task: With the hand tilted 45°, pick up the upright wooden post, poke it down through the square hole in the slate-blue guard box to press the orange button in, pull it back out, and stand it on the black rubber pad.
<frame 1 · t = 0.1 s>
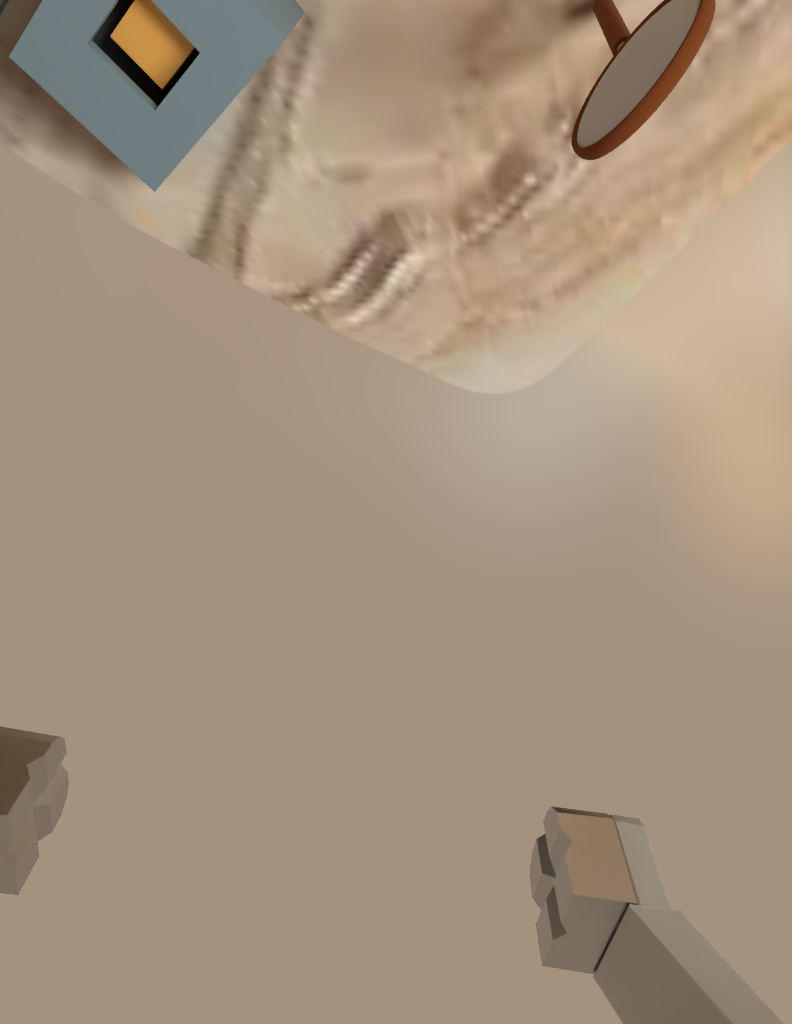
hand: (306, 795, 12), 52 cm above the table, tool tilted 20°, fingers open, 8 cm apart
button: (160, 34, 46), point 4 cm above the table, slide at 0.0 cm
guard box: (177, 20, 49), on the table
magnifying glass: (601, 2, 46), on the table
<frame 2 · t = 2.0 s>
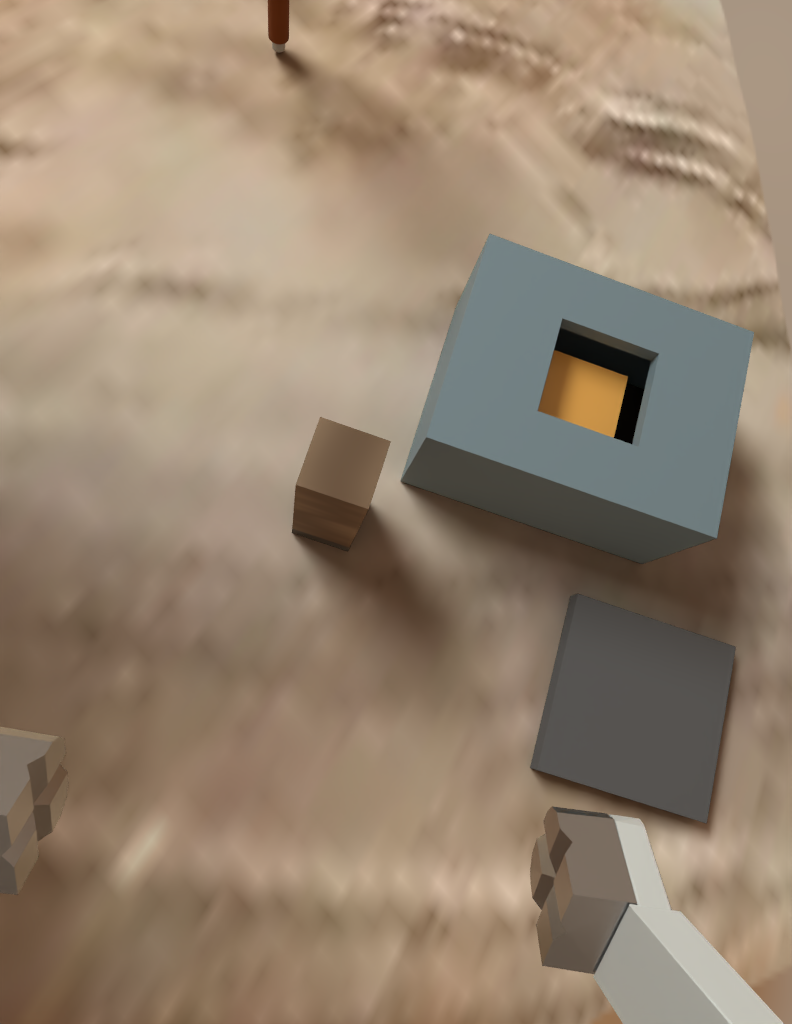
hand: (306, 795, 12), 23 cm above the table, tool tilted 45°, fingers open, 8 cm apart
button: (572, 408, 37), point 4 cm above the table, slide at 0.0 cm
pad: (631, 705, 37), on the table
guard box: (546, 432, 40), on the table
upright wooden post: (329, 515, 37), on the table
magnifying glass: (278, 53, 44), on the table
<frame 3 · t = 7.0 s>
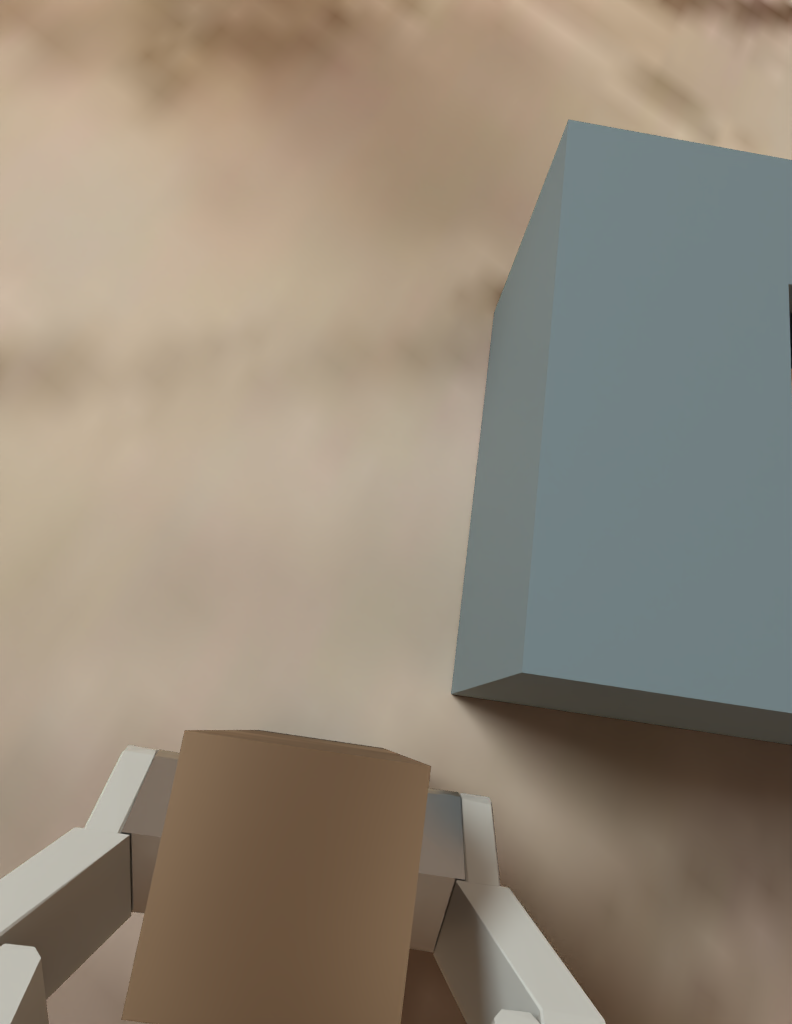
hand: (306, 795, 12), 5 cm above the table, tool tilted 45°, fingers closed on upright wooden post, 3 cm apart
guard box: (724, 527, 20), on the table
upright wooden post: (310, 805, 17), on the table, touching gripper
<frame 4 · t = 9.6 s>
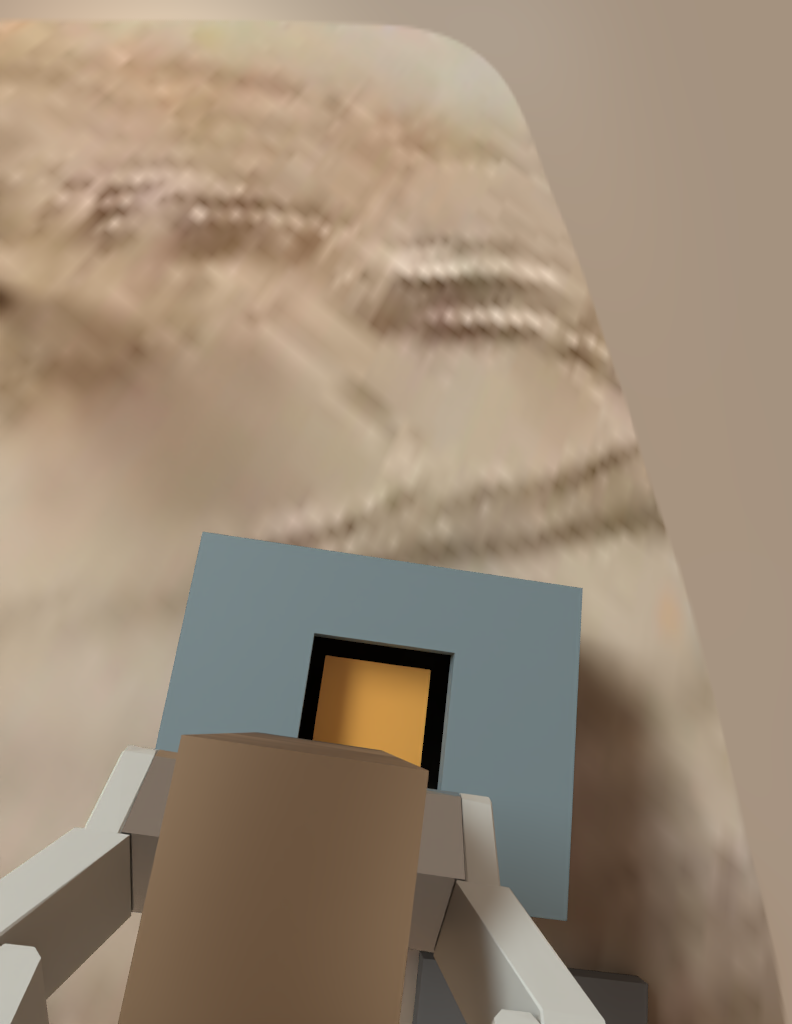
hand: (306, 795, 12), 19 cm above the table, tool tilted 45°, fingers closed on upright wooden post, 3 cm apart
button: (368, 718, 27), point 4 cm above the table, slide at 0.0 cm
guard box: (362, 720, 31), on the table
upright wooden post: (308, 807, 17), point 14 cm above the table, touching gripper
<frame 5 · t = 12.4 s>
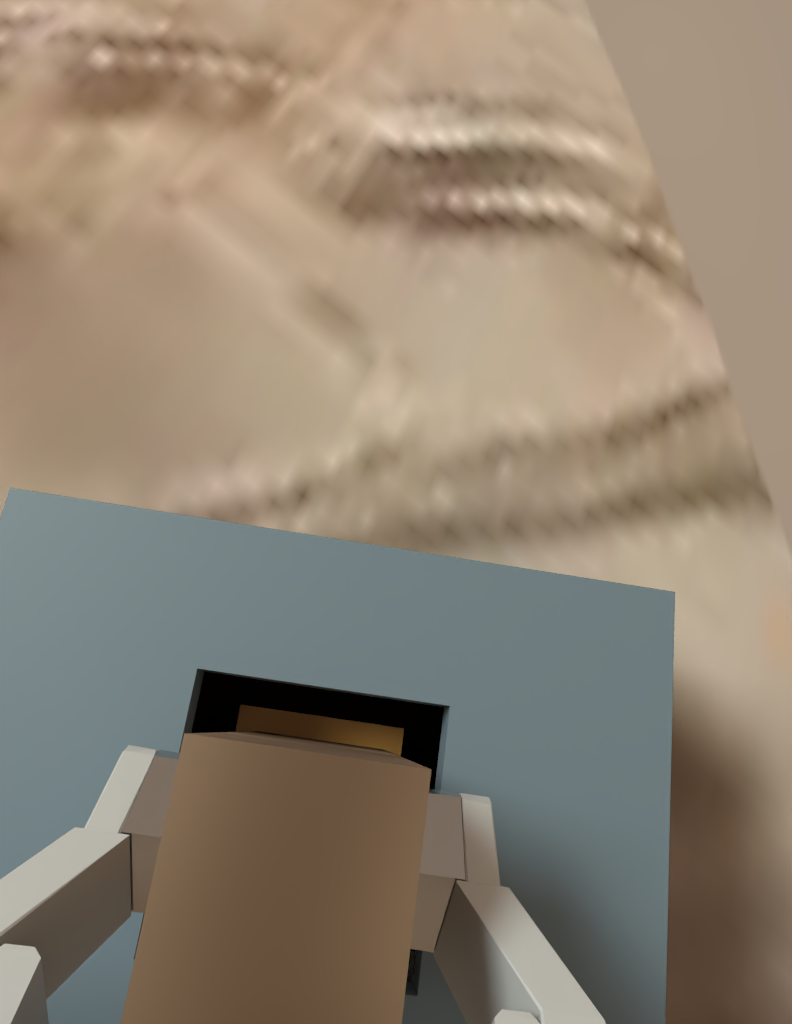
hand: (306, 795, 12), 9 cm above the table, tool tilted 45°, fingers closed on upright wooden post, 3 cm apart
button: (310, 799, 18), point 2 cm above the table, slide at 1.6 cm, touching upright wooden post
guard box: (312, 792, 20), on the table
upright wooden post: (310, 806, 17), point 3 cm above the table, touching button, gripper
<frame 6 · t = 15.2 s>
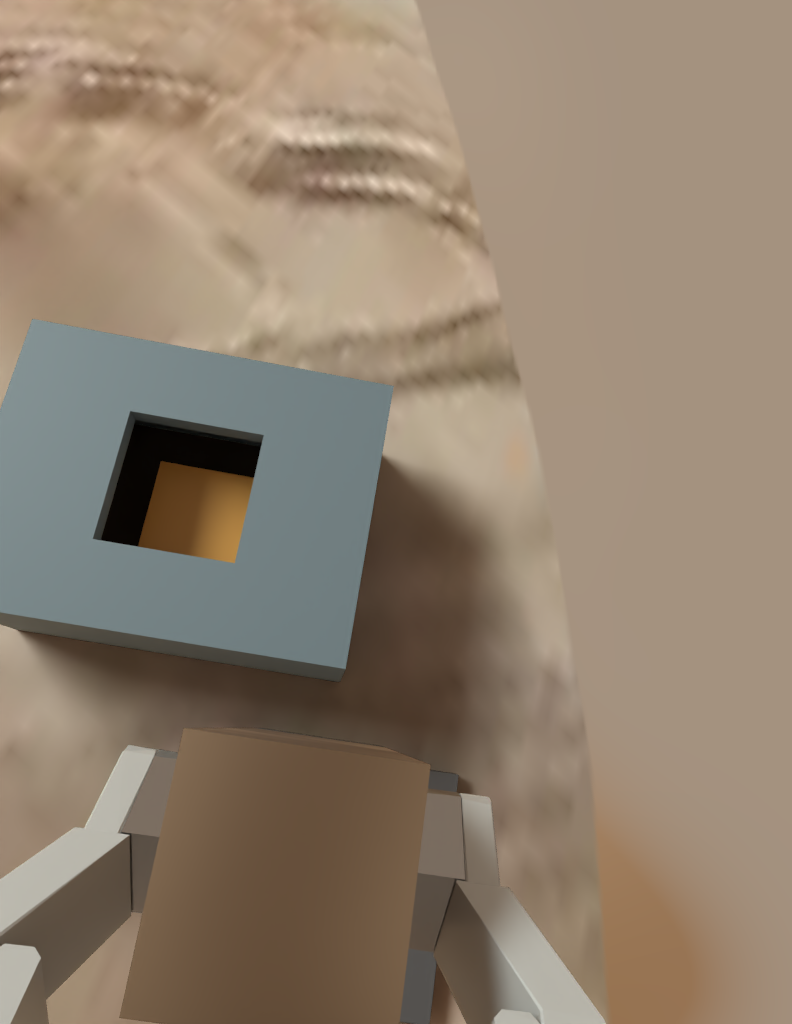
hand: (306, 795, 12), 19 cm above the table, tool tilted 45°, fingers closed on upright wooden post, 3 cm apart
button: (202, 523, 31), point 2 cm above the table, slide at 1.7 cm
pad: (332, 872, 29), on the table
guard box: (209, 535, 33), on the table
upright wooden post: (309, 803, 17), point 14 cm above the table, touching gripper
when the fingers open (7 cm above the table, at t = 17.9 s): upright wooden post drops 1 cm, resting on pad.
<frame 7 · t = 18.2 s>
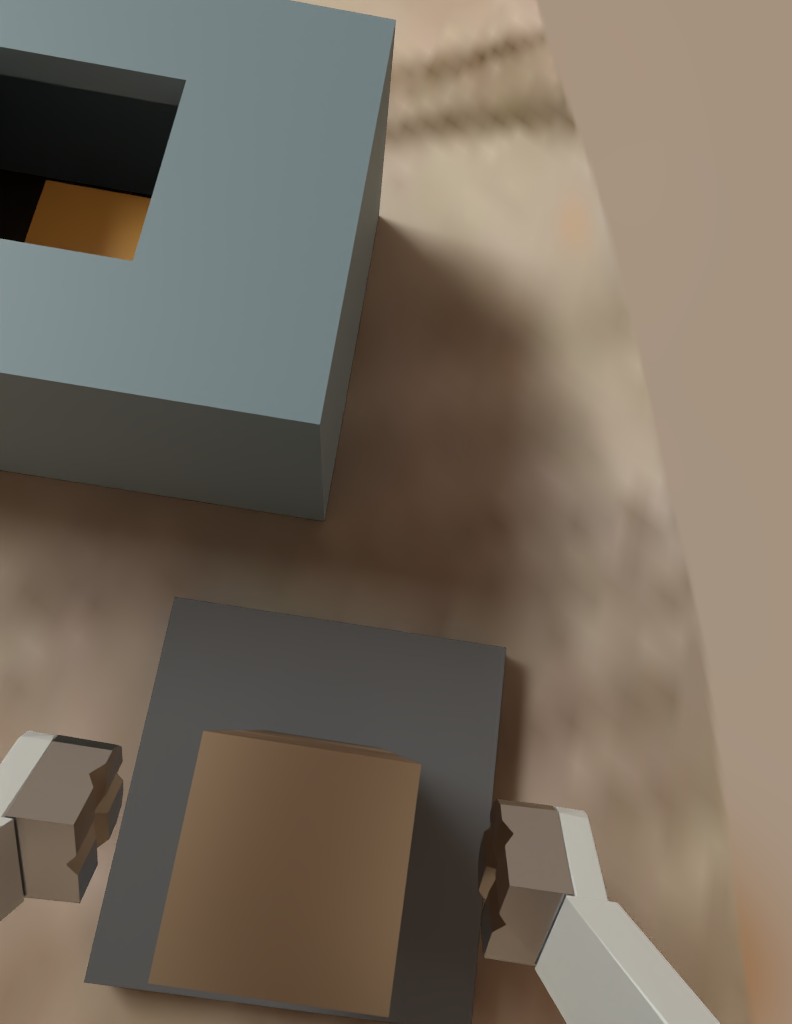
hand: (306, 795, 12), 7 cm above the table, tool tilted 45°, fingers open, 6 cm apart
button: (113, 281, 20), point 2 cm above the table, slide at 1.7 cm
pad: (314, 797, 19), on the table
guard box: (132, 319, 22), on the table
upright wooden post: (312, 801, 18), point 1 cm above the table, touching pad
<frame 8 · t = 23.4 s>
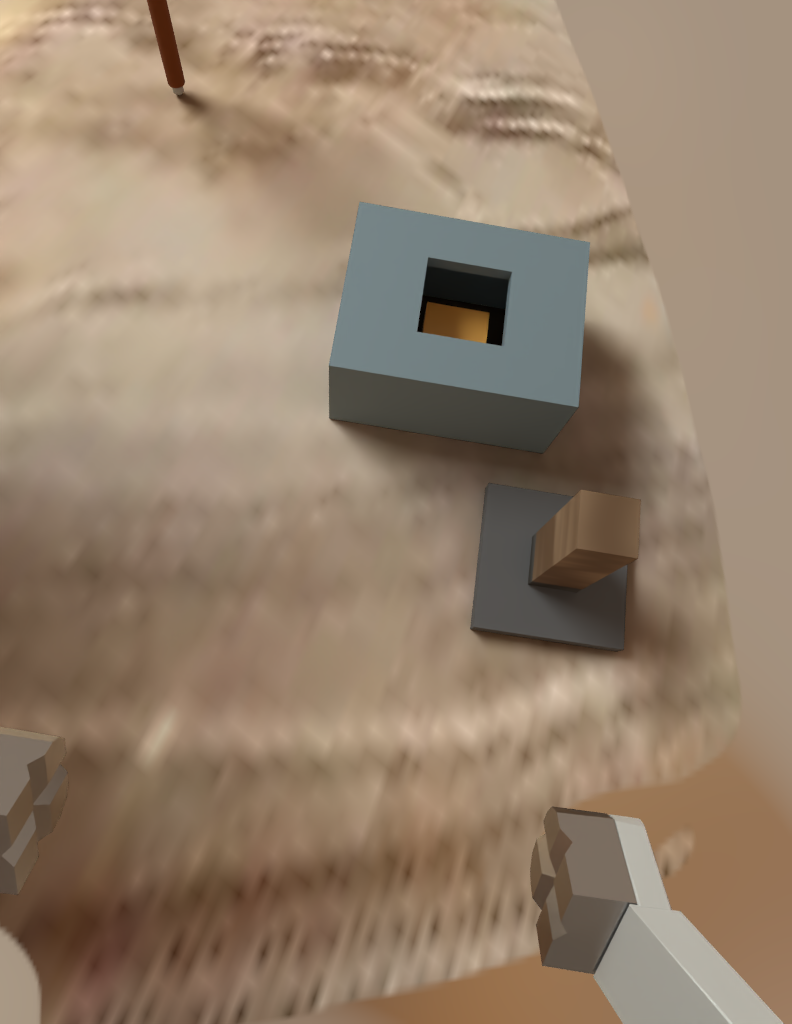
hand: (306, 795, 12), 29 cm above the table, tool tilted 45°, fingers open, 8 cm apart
button: (451, 345, 46), point 2 cm above the table, slide at 1.7 cm
pad: (549, 567, 44), on the table
guard box: (446, 360, 48), on the table
upright wooden post: (554, 564, 43), point 1 cm above the table, touching pad
magnifying glass: (179, 96, 52), on the table
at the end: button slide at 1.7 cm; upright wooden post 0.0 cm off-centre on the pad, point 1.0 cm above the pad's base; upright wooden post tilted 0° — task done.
